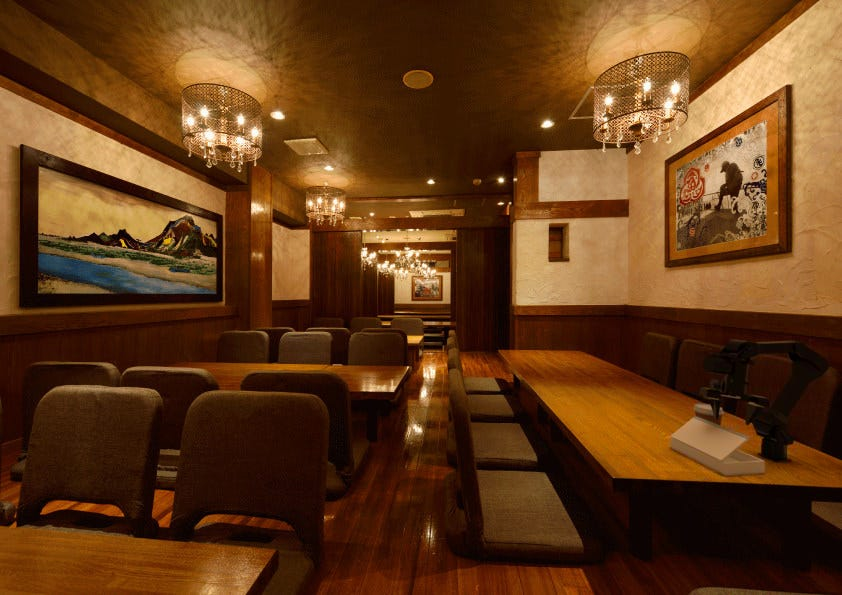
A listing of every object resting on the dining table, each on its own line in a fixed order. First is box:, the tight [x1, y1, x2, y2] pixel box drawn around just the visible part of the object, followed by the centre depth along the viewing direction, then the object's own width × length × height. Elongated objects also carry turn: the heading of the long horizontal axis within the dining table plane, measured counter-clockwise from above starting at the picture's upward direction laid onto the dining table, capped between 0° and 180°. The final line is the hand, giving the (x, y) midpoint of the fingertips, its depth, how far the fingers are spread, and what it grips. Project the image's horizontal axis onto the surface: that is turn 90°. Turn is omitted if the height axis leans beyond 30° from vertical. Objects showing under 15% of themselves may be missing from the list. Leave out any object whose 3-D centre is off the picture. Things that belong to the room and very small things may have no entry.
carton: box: [669, 436, 766, 477], centre depth 130 cm, size 14×22×4 cm, turn 7°
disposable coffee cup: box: [693, 403, 725, 426], centre depth 151 cm, size 10×10×12 cm
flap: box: [670, 415, 751, 461], centre depth 130 cm, size 12×21×1 cm
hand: (731, 422), depth 131 cm, fingers open, 9 cm apart
